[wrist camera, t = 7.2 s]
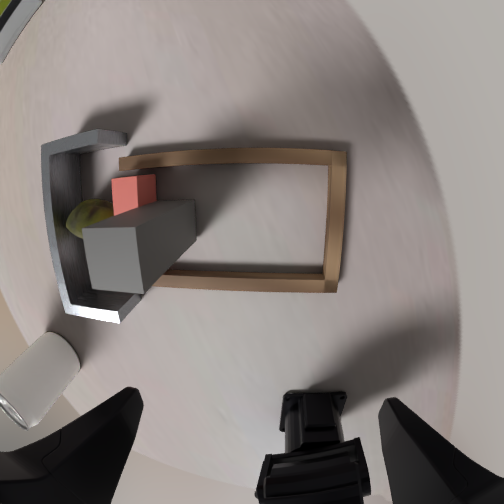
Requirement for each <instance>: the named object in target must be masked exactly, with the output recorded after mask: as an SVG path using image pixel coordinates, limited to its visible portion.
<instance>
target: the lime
mask: <svg viewBox="0 0 504 504" xmlns="http://www.w3.org/2000/svg"><path fill="white" fill-rule="evenodd" d="M112 216H114V209H113V203H111V202H108V201H105V200H101V199H89V200H85V201H83V202H81V203H80V204H79V205H78V206H77V207H76V208H75V209H73V211H72V212H71V214H70V215H69V217H68V219H67V222H66V227H67V228H68V229H69V230H70V232H72V233H73V234H74V235H75V236H77V237H79V238H82V239H83V234H82V228H84V227H87V226H89V225H92V224H94V223H97V222H99V221H102V220H104V219H107V218H110V217H112Z"/></svg>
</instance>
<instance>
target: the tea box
mask: <svg viewBox="0 0 504 504" xmlns="http://www.w3.org/2000/svg"><path fill="white" fill-rule="evenodd" d="M41 3H42V1H41V0H0V64H1V63H3V61H4V59H5V58H6V56H7V54H8V53H9V51H10V49H11V48H12V46H13V44H14V43H15V41H16V39H17V38H18V36H19V35H20V33H21V32H22V30H23V29H24V27H25V26H26V24H27V23H28V21H29V20H30V19H31V17H32V16H33V14H34V13H35V12H36V10H37V9H38V8H39V6H40V5H41Z"/></svg>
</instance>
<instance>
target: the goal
mask: <svg viewBox="0 0 504 504" xmlns="http://www.w3.org/2000/svg"><path fill="white" fill-rule="evenodd" d="M126 145H127V133H123V132H117V131H110V130H103V129H95V130H91V131H87V132H83V133H79V134H75V135H72V136H68V137H65V138H62V139H58V140H55V141H52V142H49V143H46V144H43V145H41V168H42V189H43V201H44V211H45V219H46V227H47V234H48V240H49V246H50V251H51V257H52V262H53V266H54V271H55V275H56V280H57V284H58V288H59V291H60V295H61V299H62V302H63V306H64V309H65V313H67V314H72V315H77V316H82V317H87V318H92V319H98V320H104V321H109V322H116V323H121V322H122V320H123V319H124V318H125V317H126V316H127V315H128V314H129V313H130V312H131V310H132V309H133V308H134V307H135V306H136V305H137V304H138V303H139V302H140V301H141V297H140V294H138V293H128V292H117V291H108V290H99V289H92V284H91V280H90V275H89V270H88V264H87V259H86V253H85V247H84V241H83V239H82V238H79V237H77V236H75V235H74V234H73V233H72V232H70V230H69V229H68V228H67V227H66V222H67V219H68V217H69V215H70V214H71V212H72V211H73V209H75V208H76V207H77V206H78V205H79V204H80V203H81V202H82V194H81V177H80V154H83V153H87V152H92V151H97V150H102V149H108V148H113V147H119V146H126Z"/></svg>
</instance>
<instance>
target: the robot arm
mask: <svg viewBox="0 0 504 504" xmlns="http://www.w3.org/2000/svg"><path fill="white" fill-rule="evenodd" d="M341 396H342V397H341ZM346 399H347V394H346V392H332V393H303V394H285V395H284V396H283V401H282V410H281V418H280V426H279V430H280V431H282V432H285V453H282V454H274V455H272V454H266V456H265V460H264V461H263V464H262V468H261V472H260V476H259V480H258V484H257V488H256V491H255V497H256V498H257V499H258V500H259V504H364V502H363V497H365V496H369V495H371V485H370V478H369V472H368V467H367V463H366V459H365V456H364V452H363V448H362V445H361V441H360V437H357V438H354V439H353V440H349V441H344V436H343V430H342V425H341V420H340V416H341V413H342V411H343V408H344V405H345V402H346ZM143 406H144V405H143V400H142V398H141V395H140V392H139V390H138V389H137V388H133V387H126V388H124V389H123V390H121V391H120V392H118V393H117V394H115V395H114V396H112V397H111V398H109V399H107V400H106V401H104V402H103V403H101V404H100V405H98V406H96V407H95V408H93V409H92V410H90V411H89V412H87V413H85V414H84V415H82V416H81V417H79V418H77V419H76V420H74V421H72V422H71V423H69V424H67V425H66V426H64V427H62V429H59V430H58V431H56V432H54V433H52V434H50V435H48V436H47V437H45V438H43V439H41V440H38V441H36V442H34V443H32V444H29V445H27V446H24V447H22V448H19V449H17V450H14V451H10V452H0V504H111V501H112V498H113V496H114V493H115V490H116V487H117V485H118V482H119V479H120V477H121V474H122V471H123V469H124V466H125V463H126V461H127V458H128V456H129V453H130V451H131V448H132V446H133V443H134V440H135V437H136V433H137V430H138V426H139V422H140V418H141V414H142V411H143ZM378 418H379V426H380V435H381V444H382V452H383V456H384V461H385V466H386V470H387V475H388V480H389V485H390V490H391V496H392V501H393V504H504V478H502V477H499V476H497V475H495V474H494V473H492V472H490V471H489V470H487V469H485V468H484V467H482V466H481V465H479V464H477V463H476V462H474V461H473V460H471V459H470V458H469V457H467V456H466V455H465V454H463V453H462V452H461V451H460V450H458V449H457V448H455V446H453V445H452V444H451V443H450V442H449V441H447V440H446V439H445V438H444V437H443V436H441V435H440V434H439V433H438V432H437V431H435V430H434V429H433V428H432V427H431V426H430V425H428V424H427V423H426V422H425V421H424V420H422V419H421V418H420V417H419V416H418V415H417V414H415V413H414V412H413V411H412V410H411V409H409V408H408V407H407V406H406V405H405V404H404V403H402V402H401V401H400V400H399V399H398V398H396V397H393V398H387V399H385V401H384V403H383V405H382V407H381V409H380V411H379V415H378Z"/></svg>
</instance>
